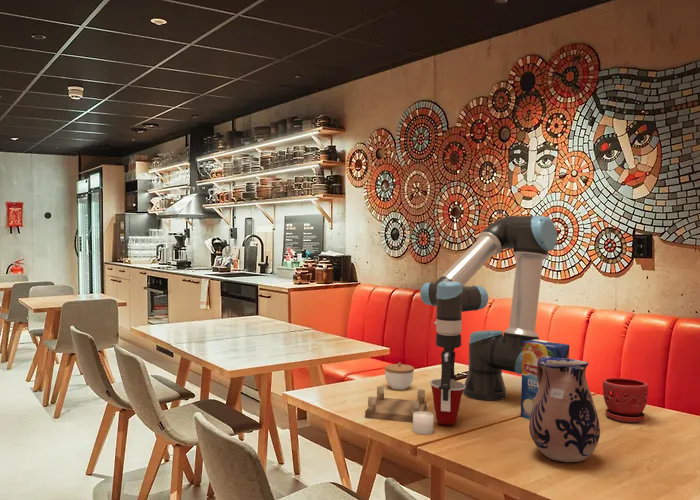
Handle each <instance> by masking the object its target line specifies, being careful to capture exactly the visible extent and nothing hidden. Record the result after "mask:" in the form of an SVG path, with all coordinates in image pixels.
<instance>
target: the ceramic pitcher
mask: <svg viewBox="0 0 700 500" xmlns="http://www.w3.org/2000/svg"><path fill="white" fill-rule="evenodd" d="M588 366H589V362H588V361H584V360H583V361H582V360H578V359H573V358H569V359H567V358H565V359H564V358H554V357H550V356H543V357H541V358H540V359H539V360H538V363H537V378H538V384H539V389H538V392H537V394H536V397H535V399H534V403H533V406H532V409H531V414H530V419H529V422H528V423H529V424H528V427H529V428H528V430H529V434H530V437H531V440H533V441H532V442H533V443H534V445H535V446H536V448H537V449H538V450H539V452H540V453H542V454H543V455H544V456H545V457H547V458H548V459H550V460H553V461H557V462H563V463H580V462H582V461H584V460H586V459H587V458H589V457H590V456H591V455H592V454H593V453H594V451H595V450H596V447H597V446H598V443H599V441H600V436H601V426H600V419H599V415H598V412H597V409H596V406H595V402H594V399H593V396H592V393H591V391H590V387H589V383H588V381H587V378H586V372H587V367H588Z"/></svg>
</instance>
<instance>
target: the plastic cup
mask: <svg viewBox="0 0 700 500" xmlns="http://www.w3.org/2000/svg"><path fill="white" fill-rule="evenodd" d="M429 383H430V388H431V393H432V397H433V398H432V399H433V406H434V411H435V419H436V421H437V423H438V424H441V425H454V424H456V423H457V420H458V419H457V418H458V415H459V410H460V405H461V401H462V396H463V390H464V389H465V388H466V386H465V383H463V382H460V381H457V380H455V379H454V380H451V381H450V389H451V402H450V412H448V411H441V389H439V386H441V378H434V379H431V380H429ZM444 385H447V384H444Z"/></svg>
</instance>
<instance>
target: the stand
mask: <svg viewBox="0 0 700 500" xmlns="http://www.w3.org/2000/svg"><path fill="white" fill-rule="evenodd" d="M425 398H426V390H425V389H421V388H420V389H417V398H416V400H415V399H404V398H403V399H402V398H391V397H385V386H382V385H378V386H377V387H376V396H367V409H366V410H365V411H364V418H365V419H374V420H375V419H376V420H386V421H396V422H407V423H413V413H414V412H418V411H426V410H427V407H428V406H427V405H428V401H427V400H426V399H425Z"/></svg>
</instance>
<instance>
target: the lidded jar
mask: <svg viewBox="0 0 700 500" xmlns="http://www.w3.org/2000/svg"><path fill="white" fill-rule="evenodd" d="M384 370H385V372H384V375H385V380H386V382H387V384H388V386H389V387H390V388H391V390H395V391H404V390H407V389H408V387H410V386H411V385H412V383H413V381H414V373H415V372H414V371H415V368H414V366H412V365H409V364H402V363H401V362H398V363H393V364H387V365H386V366H384Z"/></svg>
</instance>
